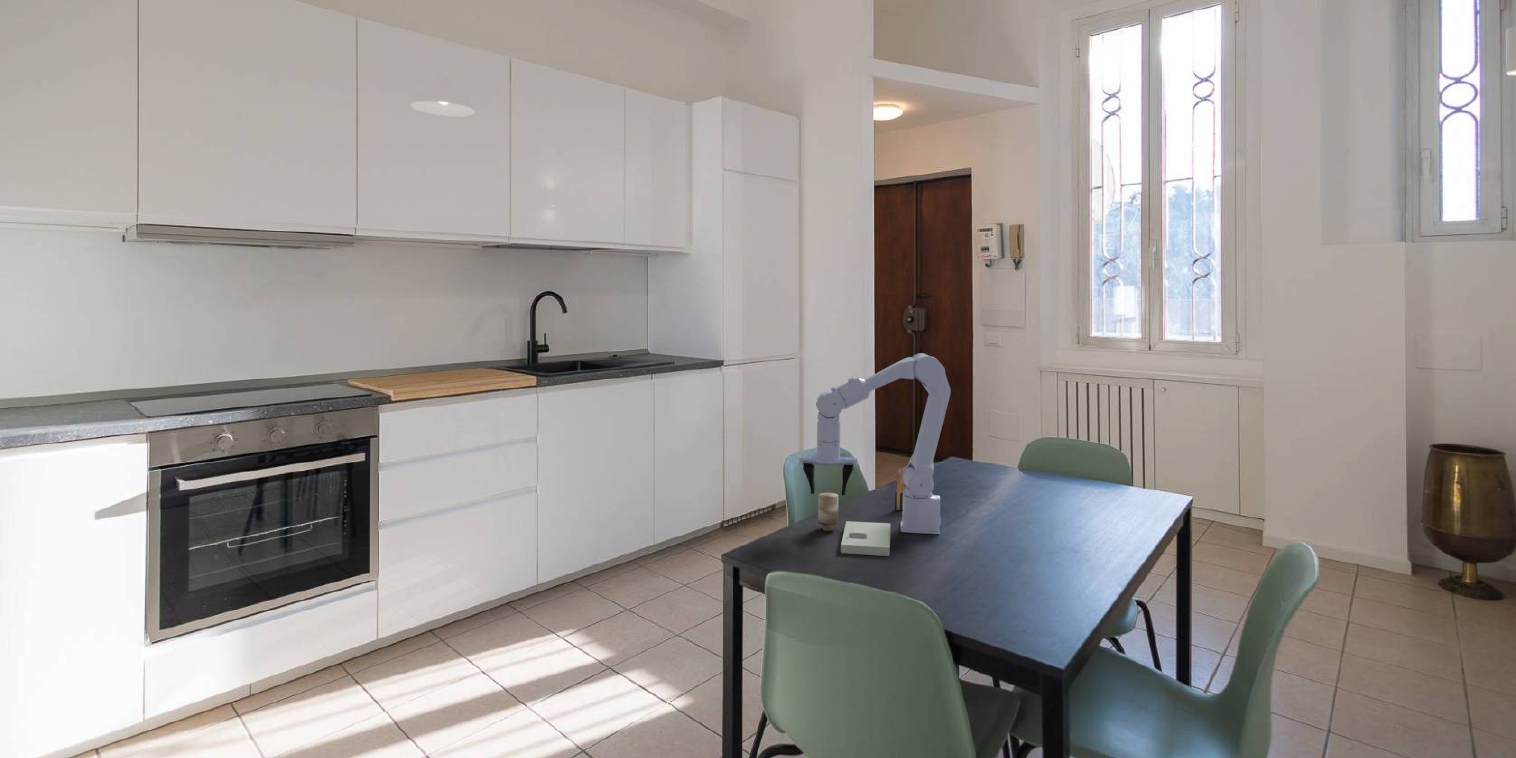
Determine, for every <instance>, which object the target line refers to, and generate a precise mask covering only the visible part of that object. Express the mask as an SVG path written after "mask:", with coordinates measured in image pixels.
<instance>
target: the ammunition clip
mask: <svg viewBox="0 0 1516 758" xmlns="http://www.w3.org/2000/svg"><path fill="white" fill-rule="evenodd" d="M907 466H908V464H906V465H905V466H902V468H901V467H899V468H898V471H897V481H896V491H895V495H894V497H895V498H894V510H895V511H897V510H898V512H902V510H903V491H904V489H905V487H906V485H905V484H904V483H903V480H902V473H903V471H904V469H905V468H906V467H907Z"/></svg>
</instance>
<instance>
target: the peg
mask: <svg viewBox="0 0 1516 758" xmlns="http://www.w3.org/2000/svg"><path fill="white" fill-rule="evenodd" d="M817 498H818V499H817V501H818V504H817V507H818V510H817V515H818V516H817V517H818V518H817V523H818V524H819V525H821V527H822V530H823V531H825V532H831V531H834V528H835V526H836V525H838V524H839V494H837V493H835V492H822V493H819V494H818V496H817Z"/></svg>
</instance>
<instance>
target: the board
mask: <svg viewBox="0 0 1516 758" xmlns="http://www.w3.org/2000/svg"><path fill="white" fill-rule="evenodd" d="M843 529H844V530H843V534H842V539H841V542H840V554H850V555H870V556H884V557H891V556H890V553H891V552H890V551H891V550H890V548H891V523H887V522H868V521H866V522H865V521H851V520H850V521H849V520H848V521H847V520H846V521H845V525H844V528H843Z"/></svg>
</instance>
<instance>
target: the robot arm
mask: <svg viewBox="0 0 1516 758" xmlns="http://www.w3.org/2000/svg"><path fill="white" fill-rule="evenodd" d="M915 378H916V380H918V381H919V382H920V383H921V385H922V386H923V388H925V391H927V393H928V395H927V396H928V397H927V399H926V403H925V406H924V412H923V415H922V419H921V424H920V427H919V431H918V435H917V440H916V443H915V448H914V451H913V453H912V455H911V457H910V458H909V462H908V464H907V467H906V466H905V467H906V468H905V467H904V468H905V469H904V471H903V473H902V480H903V483H904V484H905V485H906V487H905V489H904V491H903V511H901V512H902V513H901V515H902V519H901V521H900V533H905V534H906V533H907V534H908V533H909V534H910V533H911V534H927V535H930V534H931V535H940V534H941V525H942V517H941V496H940V495H936V494H933V490H934V488H935V483H934V472H935V463H934V459H935V455H936V452H937V447H938V443H939V440H940V436H941V431H942V428H943V424H944V421H945V416H946V413H947V412H946V411H947V409H948V404H949V401H950V398H951V397H950V396H951V391H952V390H951V387H950V383H949V381H948V377H947V375H946V369H945V366H943V364H942V363H941V362H940V361H939V360H938V358H936V357H934V356H931V355H928V354H926V353H920V352H919V353H916V354H914V355H912V357H911V356H909V357H906V358H903V359H901V360H899V361H897V362H895V363H893V364H891V365H889V366H888V367H886V368H884V369H882V370H880V371H878V372H877V373H875V374H872V375H871V376H869V377H867V378H865V379H863V378H860V377H855V378H853V377H850V378H848V379H847V382H845V383H843V384H842V385H839V386H837V387H835V386H834V387H831V388H830V391H825V392H822V393H821V394H820V395H819V396H818V397H817V399H816V402H815V406H816V408H817V410H818V414H817V422H816V423H817V424H816V455H800V456H799V457H798V459H799V460H798V464H799V465H800V466H803V467H802V469H803V472H804V475H805V476H806V479H807V481H808V484H809V487H810V494H811V495H815V492H816V486H815V485H816V483H815V467H816V466H832V467H833V466H835V467H840V466H841V467H842V469H841V470H842V473H841V474H842V483H841V484H842V485H841V496H846V489H847V485H848V482H849V480H850V476H851V475H852V473H853V471H854V468H858V467H859V458H858V457H851V456H850V457H848V456H841V421H840V414H841V413H842V410H846V409H848V408H850V407H853V406H855V405H857V404H859V403H861V402H863V401H865V400H867V399H868V398H869V397H870V393H871V392H872V391H874V390H876V389H879V388H881V387H883V386H885V385H887V384H890V383H892V382H895V381H897V380H899V379H906V380H907V379H908V380H915Z"/></svg>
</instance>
